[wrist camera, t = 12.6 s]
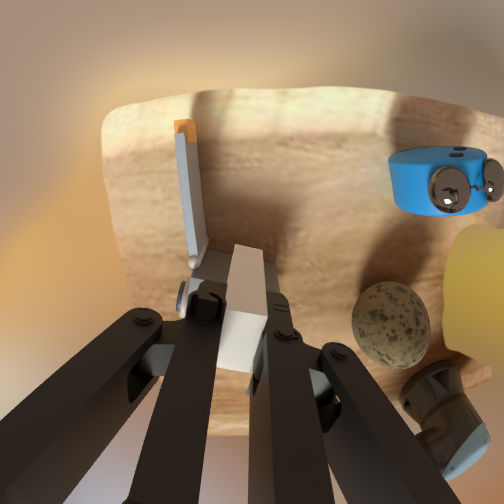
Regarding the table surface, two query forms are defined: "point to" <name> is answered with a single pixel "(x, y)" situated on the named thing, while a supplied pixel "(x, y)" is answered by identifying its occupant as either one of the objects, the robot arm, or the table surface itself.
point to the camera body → (218, 276)
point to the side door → (191, 190)
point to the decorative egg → (391, 325)
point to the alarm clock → (445, 180)
